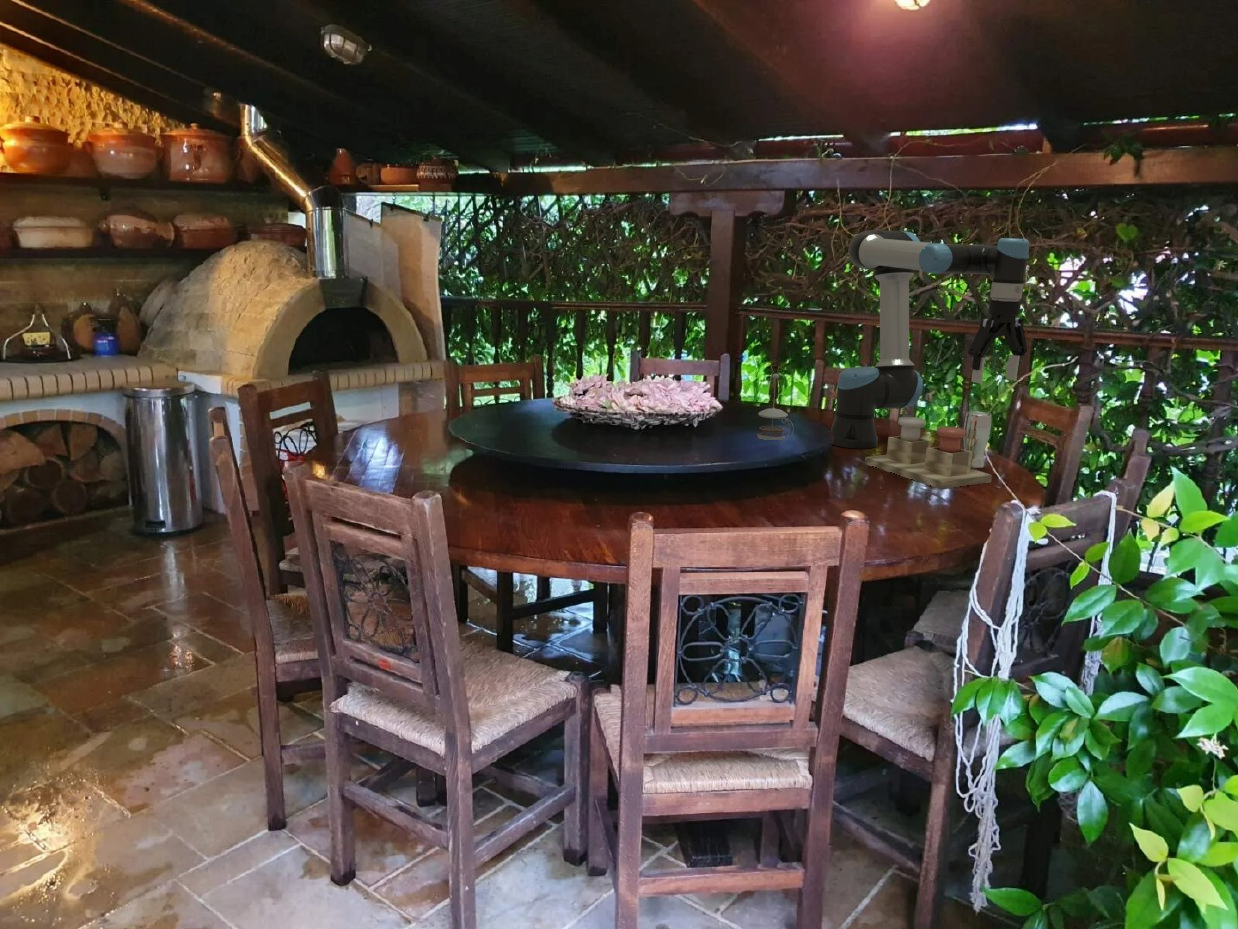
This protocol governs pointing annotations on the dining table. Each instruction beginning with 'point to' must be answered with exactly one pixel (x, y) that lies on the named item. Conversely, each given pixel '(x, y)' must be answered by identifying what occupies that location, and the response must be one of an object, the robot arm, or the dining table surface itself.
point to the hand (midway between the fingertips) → (993, 381)
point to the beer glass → (977, 436)
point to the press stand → (928, 464)
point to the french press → (772, 414)
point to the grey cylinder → (910, 428)
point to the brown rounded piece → (950, 438)
